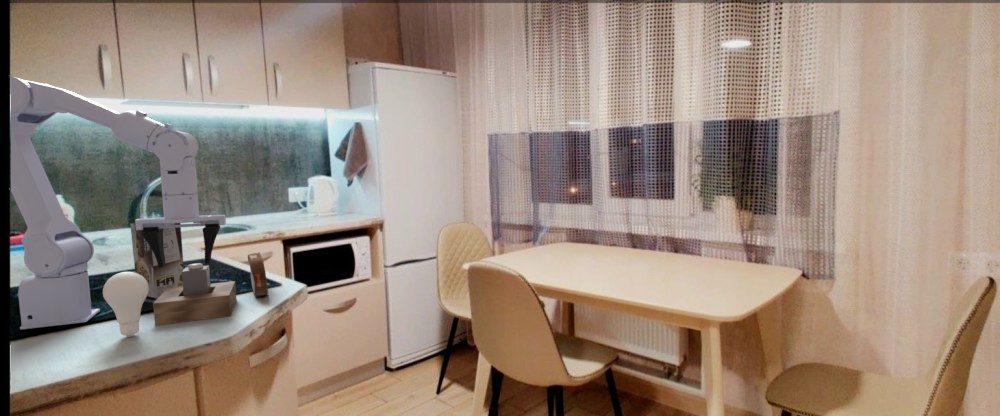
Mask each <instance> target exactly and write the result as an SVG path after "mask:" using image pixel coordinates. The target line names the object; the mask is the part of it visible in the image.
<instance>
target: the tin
mask: <svg viewBox="0 0 1000 416" xmlns="http://www.w3.org/2000/svg"><path fill="white" fill-rule="evenodd" d="M247 262H248V265H249V269H250V270H249V271H250V282H251V288H252V291H253V292H252V293H253V294H254V295H253V296H254V297H255V298H259V297H265V296H268V295H269V289H268V283H267V282H268V280H267V273H266V268H265V263H264V259H263V257H262V254H261V252H256V253H255V252H254V253H250V254H249V253H248V255H247Z"/></svg>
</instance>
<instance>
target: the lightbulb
mask: <svg viewBox="0 0 1000 416" xmlns="http://www.w3.org/2000/svg"><path fill="white" fill-rule="evenodd" d="M148 290H149V287H148V283H147V281H146V279H145V278H144V277H143V276H141V275H140V274H137V273H135V271H122V272H118V273H116V274H114V275H112V276H111V277H109V278H108V279H107V280H106V281H105V284H104V285H103V288H102V296H103V299H104V300H105V302H106V303H107V304H108V305H109V306H110V308H111V309H112V311H113V313H114V315H115V317H116V322H117V323H118V326H119V332H120V335H122V336H125V337H127V338H131V337H134V336H135V335H136V334H137V333H139V331H140V320H141V312H142V307H143V303H144V302H145V300H146V299H147V297H148V296H147V294H148Z"/></svg>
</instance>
